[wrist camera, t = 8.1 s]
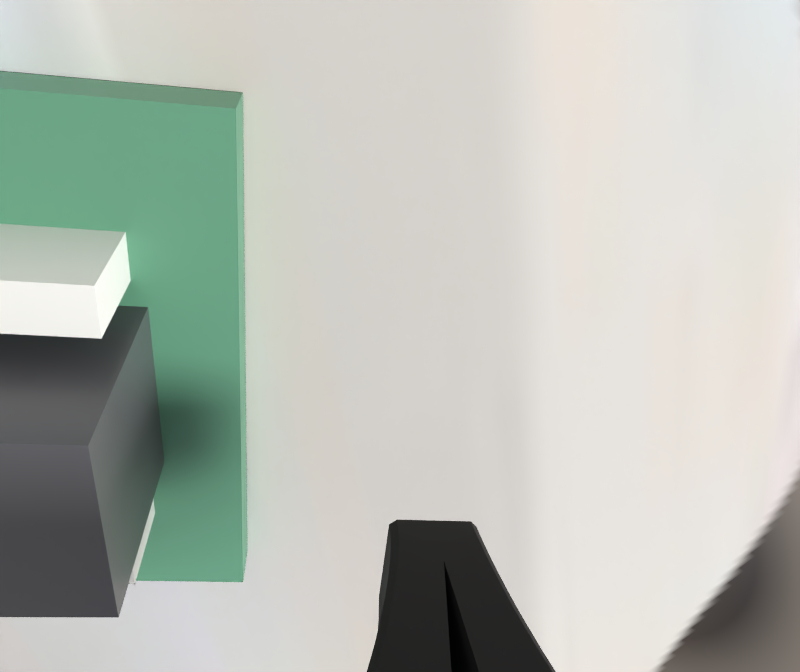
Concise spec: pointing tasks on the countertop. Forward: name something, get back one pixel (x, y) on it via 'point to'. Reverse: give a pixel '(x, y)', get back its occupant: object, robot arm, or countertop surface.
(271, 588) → the countertop surface
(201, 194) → the board
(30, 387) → the plug
